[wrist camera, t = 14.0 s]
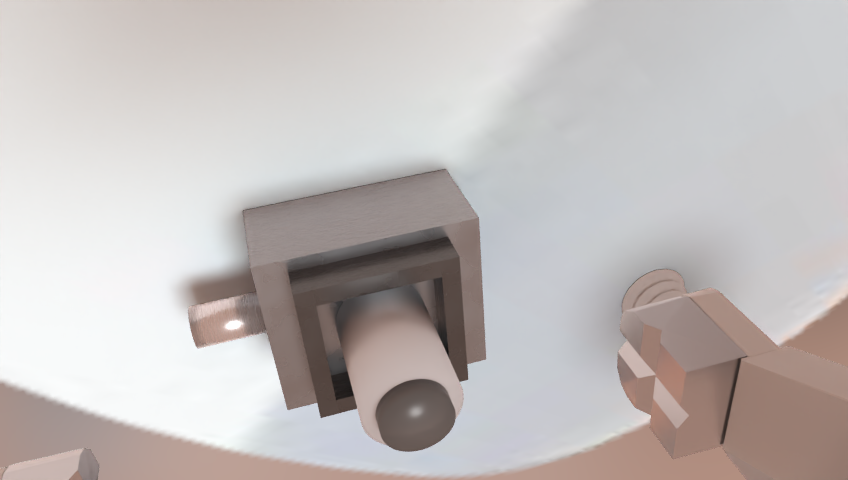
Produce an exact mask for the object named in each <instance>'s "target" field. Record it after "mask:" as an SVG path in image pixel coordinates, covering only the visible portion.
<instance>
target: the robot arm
mask: <svg viewBox="0 0 848 480" xmlns="http://www.w3.org/2000/svg"><path fill="white" fill-rule="evenodd" d="M620 332H621V333H622V334H623V335H624V337H625V338H626V339H627V340H626V342H625V343H624V344H623V346H622V347H621V348H620V350H619V351H618V363H617V369H618V373H619V377H620V381H621V385H622V387H623V389H624V391H625V393H626V395H627V397H628V398H629V400H630V401H631V403H632V404H633V405H634V407H635V408H637V409H639V410H641V411H643V412H645V413H648V414H650V415H651V421H650V429H651V430H652V432H653V433H654V434H655V436H656V437H657V438H658V440H659V441H660V443H661V444H662V445H663V447H664V448H665V449H666V451H667V452H668V453H669V455H670V456H671V457H672V459H676V458H679V457H683V456H687V455H691V454H695V453H698V452H702V451H706V450H710V449H713V448H717V447H721V446H723V449H724V450H726V451H727V452H729V453H731V454H732V455H734V456H736V457H738V458H739V459H741V460H743V461H744V462H746V463H748V464H750V465H751V466H753V467H755V468H756V469H758V470H760V471H762V472H763V473H765V474H767V475H768V476H770V477H772V478H773V479H775V480H848V367H847V366H844V365H841V364H838V363H835V362H833V361H829V360H827V359H824V358H821V357H818V356H815V355H812V354H810V353H807V352H804V351H801V350H799V349H796V348H793V347H790V346H787V347H783V348H779V347H778V346H777V345H776V344H775V343H774V342H773V341H772V340H771V339H770V338H769V337H768V336H767V335H765V334H764V333H763V332H762V331H761V330H760V329H759V328H758V327H757V326H756V325H755V324H754V323H753V322H751V321H750V320H749V319H748V318H747V317H746V316H745V315H744V314H743V313H742V312H741V311H740V310H739V309H738V308H736V307H735V306H734V305H733V304H732V303H731V302H730V301H729V300H728V299H727V298H726V297H725V296H724V295H722V294H721V293H720V292H719V291H718V290H715V289H713V288H707V289H703V290H700V291H696V292H692V293H688V294H685V295H682V296H681V297H675V298H671V299H667V300H663V301H659V302H656V303H652V304H648V305H644V306H640V307H637V308H633V309H629V310H625V311H624V313H623V315H622V317H621V322H620ZM98 472H99V464H98V462H97V460H96V458H95V456H94V454H93V453H92V451H91V449H86V448H82V449H78V450H73V451H69V452H65V453H60V454H56V455H52V456H47V457H43V458H39V459H34V460H30V461H26V462H21V463H17V464H13V465H10V466H8V467H5V468H0V480H98Z"/></svg>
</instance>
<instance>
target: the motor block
mask: <svg viewBox="0 0 848 480" xmlns="http://www.w3.org/2000/svg"><path fill="white" fill-rule="evenodd" d="M243 215H244V223H245V231H246V239H247V247H248V255H249V263H250V270H251V273H252V277H253V281H254V285H255V288H256V292H252V293H247V294H243V295H238V296H234V297H229V298H225V299H221V300H216V301H212V302H207V303H203V304H198V305H194V306H189V308H188V315H189V323H190V328H191V332H192V336H193V339H194V342H195V345H196V347H197V348H198V349H199V348H203V347H207V346H211V345H216V344H220V343H224V342H228V341H233V340H237V339H241V338H245V337H250V336H254V335H258V334H262V333H266V332H267V334H268V338H269V341H270V345H271V349H272V353H273V356H274V360H275V364H276V368H277V372H278V375H279V379H280V383H281V387H282V390H283V394H284V398H285V402H286V406H287V409H288V410H290V409H294V408H298V407H302V406H306V405H310V404H314V403H318V407H319V412H320V416H321V418H322V417H326V416H330V415H334V414H338V413H342V412H345V411H349V410H353V409H357V405H356V401H355V397H354V393H353V390H352V386H351V382H350V378H349V375H348V371H347V367H346V363H345V359H344V356H343V352H342V348H341V344H340V341H339V337H338V333H337V329H336V317H337V313H338V311H339V308H340V307H341V305H342V303H343V302H344V301H345V299H350V298H354V297H358V296H363V295H367V294H371V293H376V292H380V291H384V290H388V289H393V288H397V287H401V286H406V285H410V286H411V287H413V288H414V289H415V290H416V291H417V292H418V293H419V294H420V296H421V297H422V299H423V301H424V304H425V306H426V308H427V310H428V313H429V315H430V317H431V319H432V321H433V324H434V326H435V328H436V330H437V333H438V335H439V337H440V339H441V342H442V344H443V346H444V348H445V351H446V353H447V355H448V357H449V360H450V362H451V364H452V366H453V369H454V371H455V373H456V375H457V378H458V380H459V382H461V381H464V380H468V369H467V364H470V363H473V362H477V361H481V360H485V359H486V349H485V329H484V309H483V290H482V270H481V250H480V231H479V217H478V216H477V214H476V213H475V211H474V210H473V208H472V207H471V205H470V204H469V202H468V201H467V199H466V198H465V197H464V195H463V194H462V192H461V191H460V189H459V188H458V186H457V185H456V183H455V182H454V180H453V179H452V177H451V176H450V174H449V173H448V171H447V170H446V169H444V170H439V171H434V172H429V173H424V174H419V175H414V176H409V177H405V178H400V179H395V180H390V181H385V182H380V183H375V184H370V185H365V186H361V187H356V188H351V189H346V190H341V191H336V192H331V193H326V194H322V195H317V196H312V197H307V198H302V199H297V200H292V201H287V202H282V203H278V204H273V205H268V206H263V207H258V208H253V209H248V210H243Z"/></svg>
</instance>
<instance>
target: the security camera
mask: <svg viewBox="0 0 848 480" xmlns="http://www.w3.org/2000/svg"><path fill="white" fill-rule="evenodd" d="M336 329H337V333H338V337H339V341H340V344H341V348H342V352H343V356H344V359H345V363H346V367H347V371H348V375H349V378H350V382H351V386H352V390H353V393H354V397H355V401H356V405H357V409H358V412H359V416H360V420H361V423H362V427H363V429H364V430H365V432H366V433H367V434H368V435H369V436H370V437H371V438H372V439H374V440H375V441H377V442H379V443H382V444H385V445H388V446H389V447H391V448H393V449H395V450H399V451H407V452H409V451H418V450H422V449H425V448H428V447H430V446H432V445H434V444H436V443H438V442H439V441H441V440H442V439H443V438H444V437H445V436H446V435H447V434H448V433H449V432H450V430H451V429H452V427H453V425H454V422H455V419H456V417H457V416H458V414H459V412H460V410H461V408H462V405H463V399H464V398H463V389H462V387H461V384H460V382H459V380H458V378H457V375H456V373H455V371H454V369H453V366H452V364H451V362H450V360H449V357H448V355H447V353H446V351H445V348H444V346H443V344H442V342H441V339H440V337H439V335H438V333H437V330H436V328H435V326H434V324H433V321H432V319H431V317H430V315H429V313H428V310H427V308H426V306H425V304H424V301H423V299H422V297H421V296H420V294H419V293H418V292H417V291H416V290H415V289H414V288H413V287H411V286H410V285H406V286H401V287H397V288H393V289H388V290H384V291H380V292H376V293H371V294H367V295H363V296H358V297H354V298H350V299H345V301H344V302H343V303H342V305H341V307H340V308H339V311H338V313H337V317H336Z"/></svg>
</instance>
